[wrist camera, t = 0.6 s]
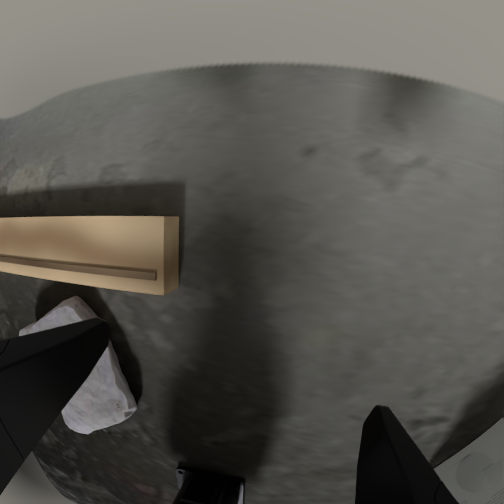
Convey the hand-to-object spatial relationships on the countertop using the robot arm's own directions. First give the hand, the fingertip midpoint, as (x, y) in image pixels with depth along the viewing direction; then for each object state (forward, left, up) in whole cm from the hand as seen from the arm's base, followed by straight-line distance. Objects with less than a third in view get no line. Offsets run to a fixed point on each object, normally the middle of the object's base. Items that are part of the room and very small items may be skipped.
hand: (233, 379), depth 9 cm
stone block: (-8, +16, -13) cm, 22 cm away
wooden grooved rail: (+2, +20, -12) cm, 23 cm away
